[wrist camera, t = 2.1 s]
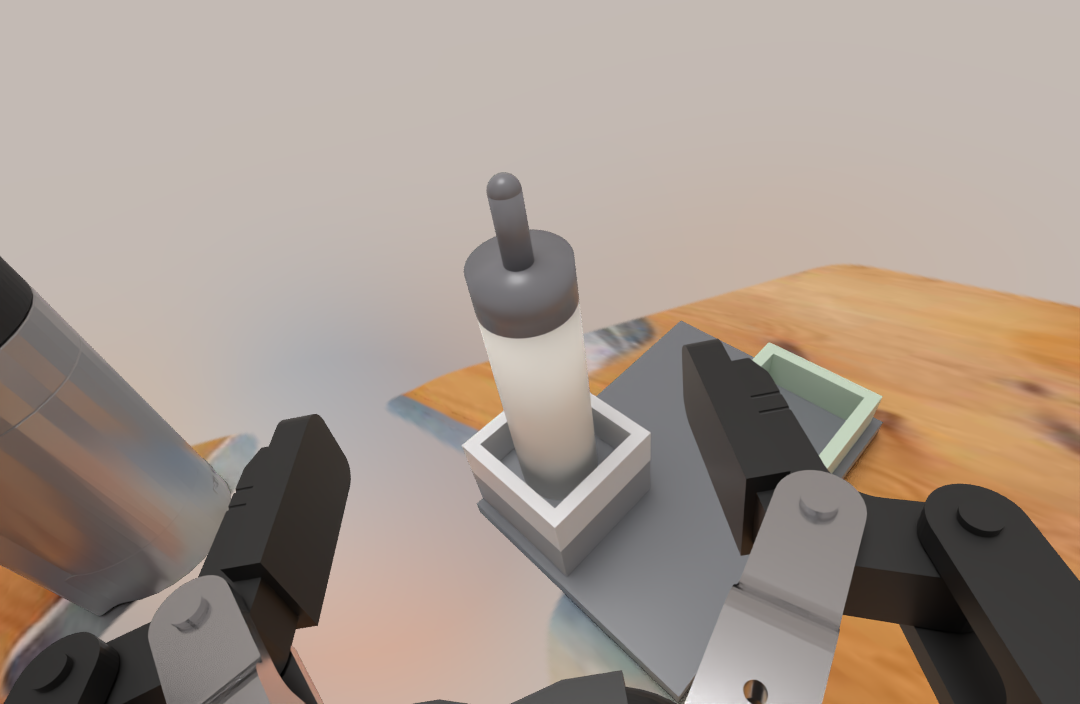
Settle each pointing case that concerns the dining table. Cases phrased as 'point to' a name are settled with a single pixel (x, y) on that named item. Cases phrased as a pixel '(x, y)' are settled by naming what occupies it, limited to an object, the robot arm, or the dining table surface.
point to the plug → (534, 343)
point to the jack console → (656, 502)
